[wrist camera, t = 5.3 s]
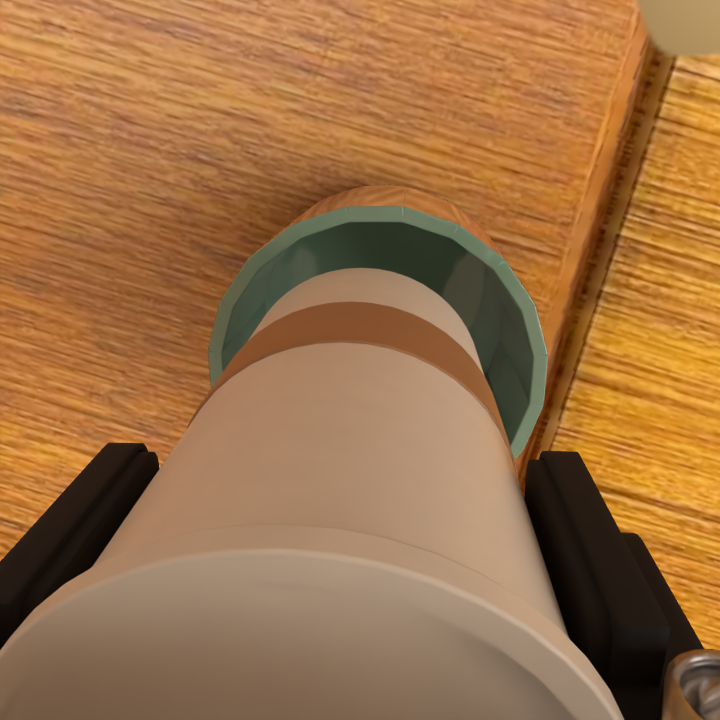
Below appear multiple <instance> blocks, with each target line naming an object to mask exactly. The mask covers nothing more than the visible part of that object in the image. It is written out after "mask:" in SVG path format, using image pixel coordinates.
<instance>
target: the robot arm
mask: <svg viewBox="0 0 720 720" xmlns="http://www.w3.org/2000/svg"><path fill="white" fill-rule="evenodd" d="M158 471H159V462H158V457H157V455H156V453H155V452H148V450H147V448H146V446H145V445H144V444H143V443H108V444H107V445H105V447H104V448H103V449H102V450H101V451H100V452H99V453H98V454H97V455H96V456H95V458H94V459H93V460H92V461H91V462H90V463H89V464H88V465H87V466H86V468H85V469H84V470H83V471H82V472H81V473H80V474H79V475H78V476H77V477H76V479H75V480H74V481H73V482H72V483H71V484H70V485H69V486H68V487H67V489H66V490H65V491H64V492H63V493H62V494H61V495H60V496H59V497H58V498H57V500H56V501H55V502H54V503H53V504H52V505H51V506H50V507H49V508H48V510H47V511H46V512H45V513H44V514H43V515H42V516H41V517H40V518H39V520H38V521H37V522H36V523H35V524H34V525H33V526H32V527H31V528H30V529H29V531H28V532H27V533H26V534H25V535H24V536H23V537H22V538H21V539H20V541H19V542H18V543H17V544H16V545H15V546H14V547H13V548H12V549H11V550H10V552H9V553H8V554H7V555H6V556H5V557H4V558H3V559H2V560H1V562H0V650H1V649H2V647H3V646H4V645H5V643H6V642H7V641H8V639H9V638H10V637H11V635H12V634H13V633H14V632H15V631H16V630H17V629H18V627H19V626H20V625H21V624H22V623H23V622H24V620H25V619H26V618H27V617H28V616H29V615H30V613H31V612H32V611H33V610H34V609H35V608H36V607H37V606H38V605H40V604H41V603H42V602H43V601H44V600H46V599H47V598H48V597H49V596H50V595H52V594H53V593H54V592H55V591H57V590H58V589H59V588H60V587H61V586H63V585H64V584H65V583H67V582H69V581H70V580H72V579H74V578H75V577H77V576H79V575H80V574H82V573H84V572H85V571H87V570H89V569H90V568H92V567H93V565H94V564H95V562H96V561H97V559H98V558H99V556H100V555H101V553H102V552H103V551H104V549H105V548H106V546H107V545H108V543H109V542H110V540H111V539H112V537H113V536H114V535H115V533H116V532H117V530H118V529H119V527H120V526H121V524H122V523H123V521H124V520H125V519H126V517H127V516H128V514H129V513H130V511H131V510H132V508H133V507H134V505H135V504H136V503H137V501H138V500H139V498H140V497H141V495H142V494H143V492H144V491H145V489H146V488H147V487H148V485H149V484H150V482H151V481H152V479H153V478H154V476H155V475H156V473H157V472H158ZM524 500H525V503H526V506H527V509H528V512H529V516H530V519H531V522H532V525H533V528H534V531H535V534H536V537H537V540H538V543H539V547H540V550H541V553H542V556H543V559H544V562H545V565H546V568H547V571H548V574H549V577H550V581H551V584H552V587H553V590H554V593H555V596H556V599H557V602H558V605H559V608H560V612H561V615H562V618H563V621H564V624H565V627H566V630H567V633H568V636H569V639H570V640H571V641H572V642H573V643H574V644H575V645H576V646H577V648H578V649H579V650H580V651H581V652H582V653H583V654H584V655H585V656H586V657H587V658H588V660H589V661H590V662H591V664H592V665H593V667H594V668H595V669H596V671H597V672H598V674H599V675H600V677H601V678H602V679H603V681H604V682H605V684H606V685H607V686H608V688H609V689H610V691H611V693H612V695H613V697H614V699H615V701H616V703H617V705H618V707H619V710H620V712H621V714H622V716H623V718H624V720H720V650H714V649H704V648H703V646H702V644H701V642H700V641H699V639H698V637H697V635H696V634H695V632H694V630H693V628H692V627H691V625H690V623H689V621H688V620H687V618H686V616H685V614H684V613H683V611H682V609H681V607H680V606H679V604H678V602H677V600H676V599H675V597H674V595H673V593H672V592H671V590H670V588H669V586H668V584H667V583H666V581H665V579H664V577H663V576H662V574H661V572H660V570H659V569H658V567H657V565H656V563H655V562H654V560H653V558H652V556H651V555H650V553H649V551H648V549H647V548H646V546H645V544H644V542H643V541H642V539H641V538H640V537H639V536H638V535H637V534H635V533H621V532H620V530H619V528H618V526H617V525H616V523H615V521H614V519H613V517H612V515H611V513H610V511H609V509H608V508H607V506H606V504H605V502H604V500H603V498H602V496H601V494H600V492H599V491H598V489H597V487H596V485H595V483H594V481H593V479H592V477H591V475H590V473H589V472H588V470H587V468H586V466H585V464H584V462H583V460H582V458H581V456H580V455H579V453H578V452H563V451H542V452H541V454H540V457H539V460H529V461H528V465H527V474H526V486H525V497H524Z"/></svg>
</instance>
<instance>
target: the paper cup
mask: <svg viewBox="0 0 720 720" xmlns="http://www.w3.org/2000/svg"><path fill="white" fill-rule="evenodd" d="M0 720H624V718H623V716H622V714H621V712H620V710H619V707H618V705H617V703H616V701H615V699H614V697H613V695H612V693H611V691H610V689H609V688H608V686H607V685H606V684H605V682H604V681H603V679H602V678H601V677H600V675H599V674H598V672H597V671H596V669H595V668H594V667H593V665H592V664H591V662H590V661H589V660H588V658H587V657H586V656H585V655H584V654H583V653H582V652H581V651H580V650H579V649H578V648H577V646H576V645H575V644H574V643H573V642H572V641H571V640H570V639H569V636H568V633H567V630H566V627H565V624H564V621H563V618H562V615H561V612H560V608H559V605H558V602H557V599H556V596H555V593H554V590H553V587H552V584H551V581H550V577H549V574H548V571H547V568H546V565H545V562H544V559H543V556H542V553H541V550H540V547H539V543H538V540H537V537H536V534H535V531H534V528H533V525H532V522H531V519H530V516H529V512H528V509H527V506H526V503H525V500H524V497H523V494H522V491H521V488H520V485H519V481H518V475H517V468H516V463H515V460H514V457H513V454H512V450H511V447H510V444H509V441H508V438H507V435H506V432H505V429H504V426H503V423H502V420H501V417H500V414H499V411H498V408H497V405H496V402H495V399H494V396H493V393H492V391H491V389H490V387H489V384H488V382H487V380H486V378H485V376H484V373H483V370H482V367H481V364H480V361H479V358H478V355H477V351H476V348H475V345H474V342H473V340H472V338H471V336H470V334H469V331H468V329H467V327H466V326H465V324H464V323H463V321H462V320H461V318H460V317H459V315H458V314H457V313H456V312H455V311H454V309H453V308H452V307H451V306H450V305H449V304H448V303H447V302H446V301H445V300H444V299H443V298H441V297H440V296H439V295H438V294H437V293H436V292H434V291H433V290H431V289H430V288H428V287H427V286H425V285H424V284H422V283H420V282H417V281H415V280H413V279H411V278H409V277H407V276H404V275H401V274H398V273H395V272H391V271H386V270H381V269H372V268H349V269H341V270H336V271H331V272H327V273H324V274H321V275H318V276H315V277H313V278H311V279H309V280H307V281H305V282H303V283H301V284H299V285H297V286H296V287H295V288H293V289H292V290H290V291H289V292H287V293H286V294H285V295H284V296H283V297H282V298H280V299H279V300H278V301H277V302H276V303H275V304H274V305H273V307H272V308H271V309H270V310H269V311H268V312H267V314H266V315H265V316H264V318H263V319H262V321H261V322H260V324H259V325H258V327H257V328H256V330H255V331H254V332H253V334H252V335H251V337H250V338H249V340H248V341H247V342H246V343H245V344H244V345H243V347H242V348H241V349H240V350H239V351H238V353H237V354H236V355H235V356H234V357H233V359H232V360H231V361H230V363H229V364H228V366H227V367H226V369H225V370H224V371H223V373H222V374H221V376H220V377H219V379H218V380H217V381H216V383H215V384H214V386H213V387H212V389H211V390H210V391H209V393H208V394H207V396H206V397H205V399H204V400H203V401H202V403H201V404H200V406H199V407H198V409H197V411H196V412H195V414H194V415H193V417H192V419H191V420H190V422H189V424H188V427H187V429H186V431H185V433H184V434H183V436H182V437H181V439H180V440H179V441H178V443H177V444H176V446H175V447H174V449H173V450H172V452H171V453H170V455H169V456H168V457H167V459H166V460H165V462H164V463H163V465H162V466H161V468H160V469H159V471H158V472H157V473H156V475H155V476H154V478H153V479H152V481H151V482H150V484H149V485H148V487H147V488H146V489H145V491H144V492H143V494H142V495H141V497H140V498H139V500H138V501H137V503H136V504H135V505H134V507H133V508H132V510H131V511H130V513H129V514H128V516H127V517H126V519H125V520H124V521H123V523H122V524H121V526H120V527H119V529H118V530H117V532H116V533H115V535H114V536H113V537H112V539H111V540H110V542H109V543H108V545H107V546H106V548H105V549H104V551H103V552H102V553H101V555H100V556H99V558H98V559H97V561H96V562H95V564H94V565H93V567H92V568H90V569H89V570H87V571H85V572H84V573H82V574H80V575H79V576H77V577H75V578H74V579H72V580H70V581H69V582H67V583H65V584H64V585H63V586H61V587H60V588H59V589H58V590H57V591H55V592H54V593H53V594H52V595H50V596H49V597H48V598H47V599H46V600H44V601H43V602H42V603H41V604H40V605H38V606H37V607H36V608H35V609H34V610H33V611H32V612H31V613H30V615H29V616H28V617H27V618H26V619H25V620H24V622H23V623H22V624H21V625H20V626H19V627H18V629H17V630H16V631H15V632H14V633H13V634H12V635H11V637H10V638H9V639H8V641H7V642H6V643H5V645H4V646H3V647H2V649H1V650H0Z"/></svg>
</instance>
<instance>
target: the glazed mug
mask: <svg viewBox="0 0 720 720" xmlns="http://www.w3.org/2000/svg"><path fill="white" fill-rule="evenodd" d="M349 268H372V269H381V270H386V271H391V272H395V273H398V274H401V275H404V276H407V277H409V278H411V279H413V280H415V281H417V282H420V283H422V284H424V285H425V286H427V287H428V288H430V289H431V290H433V291H434V292H436V293H437V294H438V295H439V296H440V297H441V298H443V299H444V300H445V301H446V302H447V303H448V304H449V305H450V306H451V307H452V308H453V309H454V311H455V312H456V313H457V314H458V315H459V317H460V318H461V320H462V321H463V323H464V324H465V326H466V327H467V329H468V331H469V334H470V336H471V338H472V340H473V342H474V345H475V348H476V351H477V355H478V358H479V361H480V364H481V367H482V370H483V373H484V376H485V378H486V380H487V382H488V384H489V387H490V389H491V391H492V393H493V396H494V399H495V402H496V405H497V408H498V411H499V414H500V417H501V420H502V423H503V426H504V429H505V432H506V435H507V438H508V441H509V444H510V447H511V450H512V454H513V457H514V460H515V459H516V458H517V457H518V456H519V455H520V453H521V452H522V450H524V448H525V445H526V443H527V441H528V439H529V437H530V434H531V432H532V430H533V428H534V426H535V423H536V421H537V419H538V417H539V415H540V412H541V410H542V408H543V404H544V397H545V386H546V375H547V364H548V351H547V347H546V344H545V340H544V336H543V332H542V328H541V324H540V320H539V316H538V312H537V308H536V305H535V304H534V301H533V300H532V298H531V297H530V295H529V294H528V292H527V291H526V289H525V288H524V286H523V285H522V283H521V282H520V280H519V279H518V277H517V276H516V274H515V273H514V271H513V270H512V268H511V267H510V266H509V264H508V263H507V261H506V260H505V258H504V257H503V255H502V254H501V253H500V251H499V250H498V249H497V247H496V246H495V244H494V243H493V242H492V240H491V239H490V238H489V236H488V235H487V233H486V232H485V231H484V229H483V228H482V227H481V226H480V225H479V224H478V223H477V222H475V221H474V220H473V219H471V218H470V217H469V216H468V215H467V214H466V213H465V212H463V211H462V210H460V209H459V208H458V207H456V206H455V205H453V204H452V203H450V202H449V201H447V200H445V199H443V198H440V197H438V196H436V195H434V194H431V193H428V192H425V191H422V190H420V189H415V188H410V187H407V186H406V187H405V186H398V185H370V186H362V187H357V188H353V189H349V190H346V191H343V192H340V193H337V194H335V195H332V196H330V197H328V198H325V199H322V200H321V201H318V202H317V203H316V204H315V205H313V206H312V207H311V208H309V209H308V210H307V211H305V212H304V213H303V214H301V215H300V216H299V217H298V218H296V219H295V220H294V221H292V222H291V223H290V224H288V225H287V226H286V227H285V228H284V229H282V230H281V231H280V232H279V233H278V234H276V235H275V236H274V237H273V238H271V239H270V240H269V241H268V242H267V243H265V244H264V245H263V246H262V247H261V248H259V249H258V250H257V251H256V252H255V253H253V254H252V255H251V256H250V257H249V258H248V259H247V261H246V262H245V264H244V265H243V267H242V268H241V270H240V271H239V273H238V274H237V276H236V277H235V279H234V280H233V282H232V283H231V285H230V286H229V288H228V290H227V291H226V293H225V294H224V296H223V297H222V299H221V302H220V303H219V307H218V311H217V315H216V319H215V323H214V327H213V331H212V335H211V339H210V343H209V347H208V358H209V369H210V380H211V389H212V387H213V386H214V384H215V383H216V381H217V380H218V379H219V377H220V376H221V374H222V373H223V371H224V370H225V369H226V367H227V366H228V364H229V363H230V361H231V360H232V359H233V357H234V356H235V355H236V354H237V353H238V351H239V350H240V349H241V348H242V347H243V345H244V344H245V343H246V342H247V341H248V340H249V338H250V337H251V335H252V334H253V332H254V331H255V330H256V328H257V327H258V325H259V324H260V322H261V321H262V319H263V318H264V316H265V315H266V314H267V312H268V311H269V310H270V309H271V308H272V307H273V305H274V304H275V303H276V302H277V301H278V300H279V299H280V298H282V297H283V296H284V295H285V294H286V293H287V292H289V291H290V290H292V289H293V288H295V287H296V286H297V285H299V284H301V283H303V282H305V281H307V280H309V279H311V278H313V277H315V276H318V275H321V274H324V273H327V272H331V271H336V270H341V269H349Z"/></svg>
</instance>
